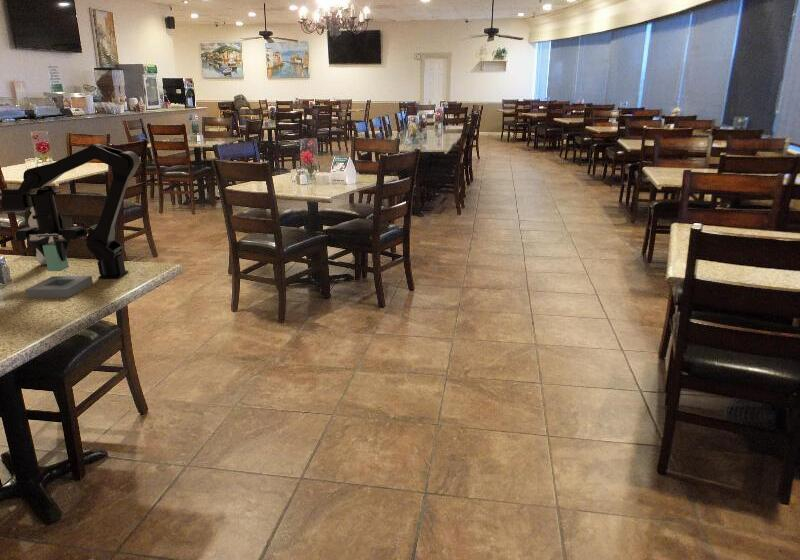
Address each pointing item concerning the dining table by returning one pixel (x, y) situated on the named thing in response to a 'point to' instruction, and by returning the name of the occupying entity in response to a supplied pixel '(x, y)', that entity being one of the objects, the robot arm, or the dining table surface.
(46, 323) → the dining table surface
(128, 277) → the dining table surface
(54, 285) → the plate
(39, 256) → the plastic bottle
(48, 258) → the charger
